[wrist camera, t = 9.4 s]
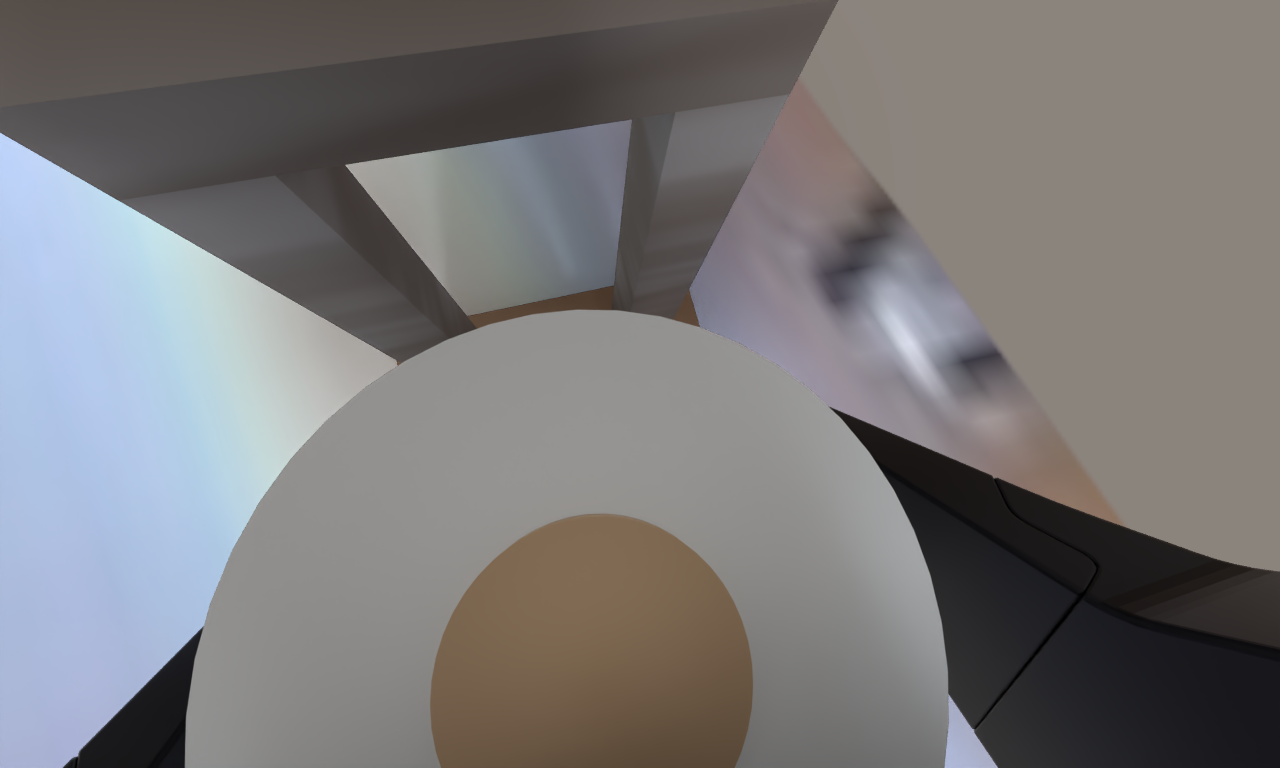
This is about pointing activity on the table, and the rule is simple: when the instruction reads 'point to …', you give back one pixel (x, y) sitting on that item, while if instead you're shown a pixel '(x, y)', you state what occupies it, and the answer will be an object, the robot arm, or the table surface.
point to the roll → (575, 572)
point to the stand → (399, 127)
